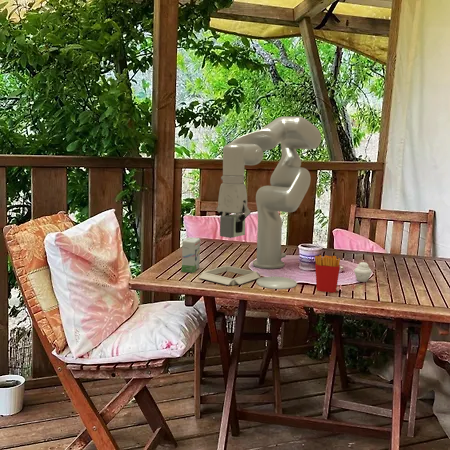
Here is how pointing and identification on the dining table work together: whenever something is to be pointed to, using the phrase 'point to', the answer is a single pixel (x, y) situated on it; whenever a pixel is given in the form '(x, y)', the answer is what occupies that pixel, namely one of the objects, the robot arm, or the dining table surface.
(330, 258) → the french fries
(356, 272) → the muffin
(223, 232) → the block
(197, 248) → the ink box
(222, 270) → the beige square frame
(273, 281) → the cream round plate
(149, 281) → the dining table surface
